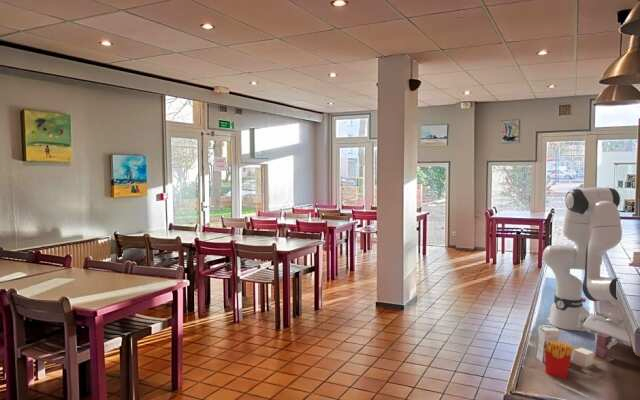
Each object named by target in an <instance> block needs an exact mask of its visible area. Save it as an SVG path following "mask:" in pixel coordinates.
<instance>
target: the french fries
mask: <svg viewBox="0 0 640 400" xmlns="http://www.w3.org/2000/svg"><path fill="white" fill-rule="evenodd" d="M546 346H547V349H546V350H545V361H546V363H545V373H546V374H547V375H549V376H553V377H557V378H563V379H565V378H566V379H567V377H568V373H569V372H568V371H569V368H570V367H569V364H570V360H572V355H573V353H574V347H573V346H571V345H569V344H567V343H565V342H562V341H560V342H558V343H557V342H555V343H554V342H550V345H548V342H546Z"/></svg>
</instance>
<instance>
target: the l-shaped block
mask: <svg viewBox="0 0 640 400" xmlns="http://www.w3.org/2000/svg"><path fill="white" fill-rule="evenodd" d="M609 342H610V339H609V336H607V335H604V334H599V335H598V337H597V345H596V346H595V347H596V348H595V351H593V352H594V356H593V365H590V366H587V367H584V366H582V365H579V364H577V363H574V362H573V359H570V364H569V368H571V369H574V370H576V371H578V372H584V371H587V370H590V369H592V368H595V367H599V366H600V365H603V364H605V363H608V362H611V361H614V360H616V359H615V358H614V357H613V358H612V357H610V356H608V350H609V349H607V348H606V347H605V345H606V343H609Z"/></svg>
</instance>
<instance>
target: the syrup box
mask: <svg viewBox="0 0 640 400" xmlns="http://www.w3.org/2000/svg"><path fill="white" fill-rule="evenodd" d="M536 340H537V341H536V349H535V350H536V351H535V358H537V360H539V361H540V362H541V363H543V364H544V363H545V364H546V361H545V350H546V349H547V346H546V342H548V345H550V342H554V343H555V342H557V343H559V340H560V330H559V328H558V327H555V326H553V325H538V329H537V339H536Z"/></svg>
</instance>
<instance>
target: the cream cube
mask: <svg viewBox="0 0 640 400" xmlns="http://www.w3.org/2000/svg"><path fill="white" fill-rule="evenodd" d="M594 352H595V351H593V350H589V349H586V348H584V347H579V348H575V349H573V358H572V360H573V362H574V363H577V364H579V365H582V366H584V367H587V366H590V365H593V356H594Z"/></svg>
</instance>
